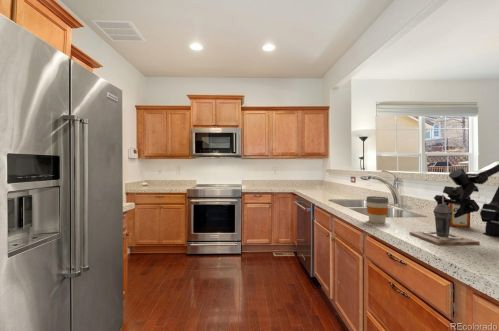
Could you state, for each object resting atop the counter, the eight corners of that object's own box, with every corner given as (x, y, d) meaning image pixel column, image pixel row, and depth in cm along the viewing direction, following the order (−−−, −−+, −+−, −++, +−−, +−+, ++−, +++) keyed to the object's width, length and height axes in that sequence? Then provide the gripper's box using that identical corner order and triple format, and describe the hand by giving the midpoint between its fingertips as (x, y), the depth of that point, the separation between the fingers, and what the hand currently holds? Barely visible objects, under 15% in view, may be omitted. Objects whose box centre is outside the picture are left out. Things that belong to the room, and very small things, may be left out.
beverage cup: (432, 236, 123) (433, 194, 123) (433, 233, 129) (433, 193, 129) (452, 239, 119) (452, 196, 119) (452, 235, 124) (452, 194, 124)
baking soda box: (465, 225, 153) (465, 198, 152) (470, 227, 147) (470, 199, 146) (446, 223, 156) (446, 197, 156) (449, 226, 150) (450, 198, 150)
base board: (445, 233, 134) (445, 229, 134) (479, 244, 116) (479, 239, 116) (409, 234, 132) (409, 230, 132) (438, 245, 114) (438, 240, 114)
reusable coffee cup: (368, 223, 156) (368, 198, 156) (364, 218, 168) (364, 195, 168) (391, 224, 153) (391, 199, 153) (385, 219, 165) (385, 196, 165)
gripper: (436, 179, 134) (418, 201, 132) (474, 182, 116) (454, 207, 114) (449, 194, 136) (431, 215, 134) (488, 198, 118) (468, 224, 115)
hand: (445, 215), depth 124 cm, fingers open, 9 cm apart
